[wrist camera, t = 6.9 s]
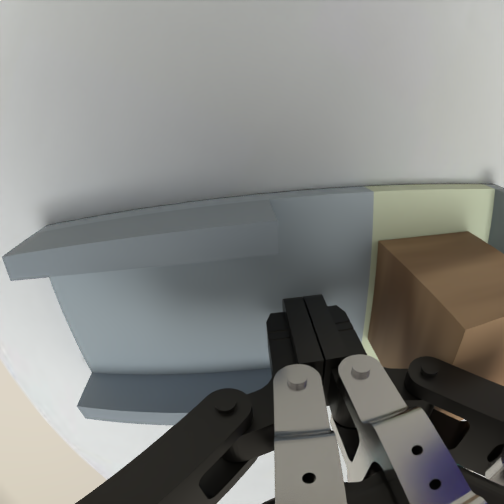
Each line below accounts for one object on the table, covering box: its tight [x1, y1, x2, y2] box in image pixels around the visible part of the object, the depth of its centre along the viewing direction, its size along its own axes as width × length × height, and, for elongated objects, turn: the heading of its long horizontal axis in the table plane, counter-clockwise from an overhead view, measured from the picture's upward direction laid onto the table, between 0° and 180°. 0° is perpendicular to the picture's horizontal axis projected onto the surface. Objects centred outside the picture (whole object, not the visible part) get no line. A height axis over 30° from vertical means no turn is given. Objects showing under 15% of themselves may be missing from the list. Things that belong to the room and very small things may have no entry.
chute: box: [2, 184, 504, 425], centre depth 12 cm, size 9×22×4 cm, turn 95°
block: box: [367, 231, 504, 421], centre depth 10 cm, size 5×5×6 cm
